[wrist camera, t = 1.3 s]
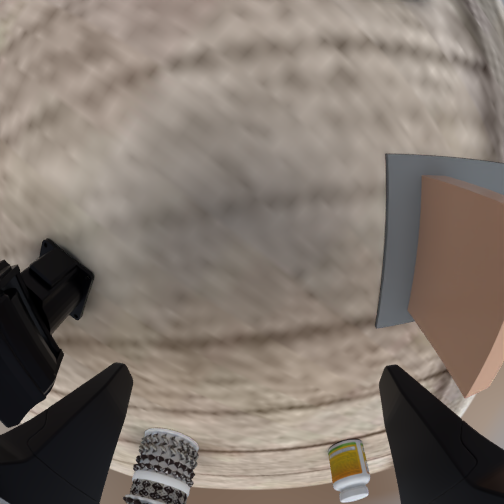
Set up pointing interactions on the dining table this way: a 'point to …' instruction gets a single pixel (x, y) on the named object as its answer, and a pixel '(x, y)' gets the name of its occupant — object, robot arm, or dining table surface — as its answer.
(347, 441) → the supplement bottle
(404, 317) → the rubber mat
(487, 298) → the terracotta tile
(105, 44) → the dining table surface
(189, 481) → the decorative candle
